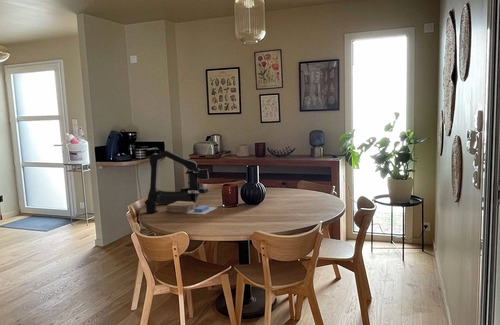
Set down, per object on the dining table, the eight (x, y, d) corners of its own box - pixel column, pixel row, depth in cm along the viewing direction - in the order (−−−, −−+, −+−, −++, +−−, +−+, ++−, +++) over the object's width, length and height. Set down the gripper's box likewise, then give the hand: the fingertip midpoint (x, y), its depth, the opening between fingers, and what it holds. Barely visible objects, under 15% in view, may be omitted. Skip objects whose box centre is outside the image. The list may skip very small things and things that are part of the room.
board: (187, 212, 265) (186, 206, 265) (167, 211, 272) (166, 205, 271) (198, 207, 278) (197, 201, 278) (178, 206, 285) (178, 200, 284)
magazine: (197, 190, 295) (157, 180, 294) (197, 190, 292) (156, 181, 291) (192, 212, 297) (152, 202, 296) (191, 213, 294) (151, 203, 293)
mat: (204, 214, 258) (204, 214, 258) (185, 213, 264) (185, 212, 264) (217, 207, 274) (217, 207, 274) (199, 206, 280) (199, 206, 280)
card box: (194, 208, 266) (194, 211, 266) (201, 209, 263) (202, 212, 263) (200, 205, 274) (201, 208, 274) (208, 205, 271) (208, 208, 272)
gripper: (211, 178, 272) (212, 200, 274) (187, 177, 280) (189, 199, 281) (203, 181, 262) (204, 204, 264) (178, 180, 269) (180, 203, 271)
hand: (194, 202), depth 270 cm, fingers closed
